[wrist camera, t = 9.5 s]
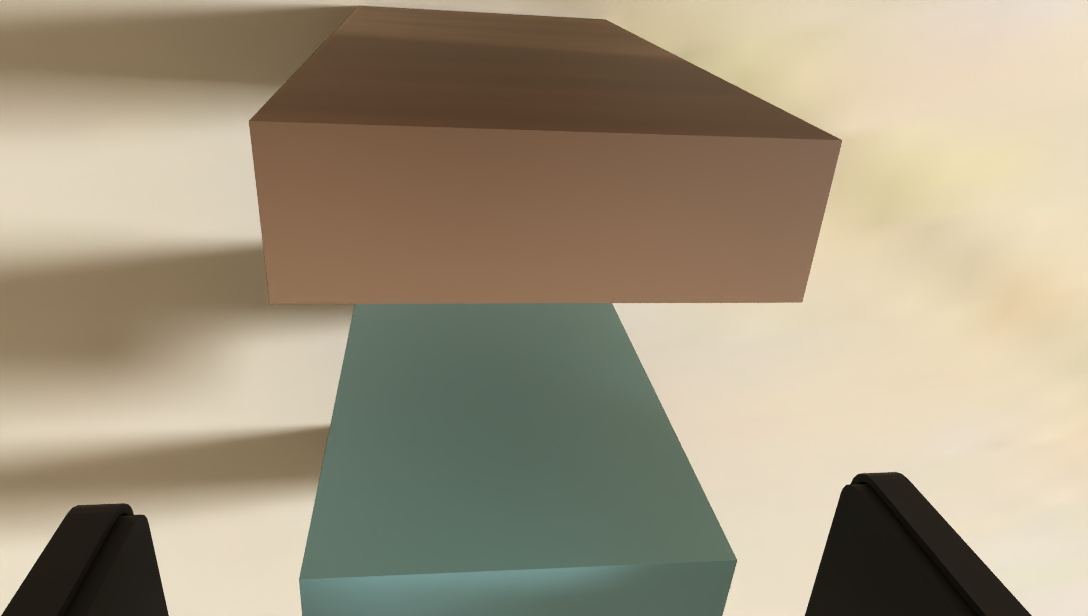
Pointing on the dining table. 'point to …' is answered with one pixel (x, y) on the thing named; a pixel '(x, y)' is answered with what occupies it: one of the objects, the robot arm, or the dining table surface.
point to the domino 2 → (505, 473)
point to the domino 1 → (528, 170)
